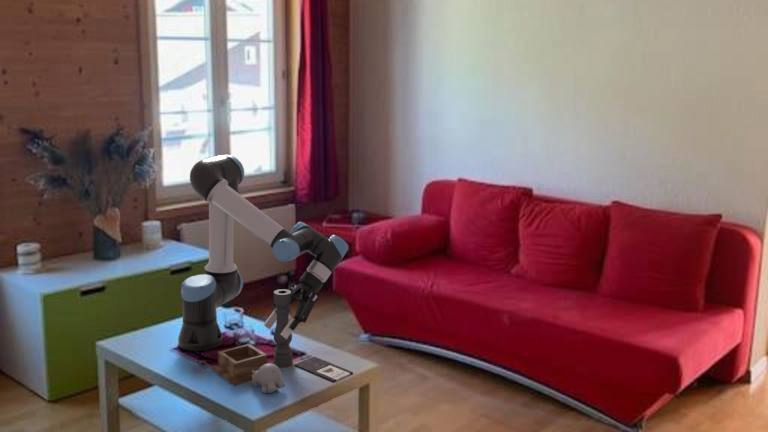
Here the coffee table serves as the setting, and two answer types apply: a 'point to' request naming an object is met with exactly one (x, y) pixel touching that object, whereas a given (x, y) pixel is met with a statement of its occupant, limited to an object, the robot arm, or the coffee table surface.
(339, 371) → the chocolate bar
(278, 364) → the candle holder
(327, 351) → the coffee table surface
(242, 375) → the open wooden box
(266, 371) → the chubby cartoon animal
